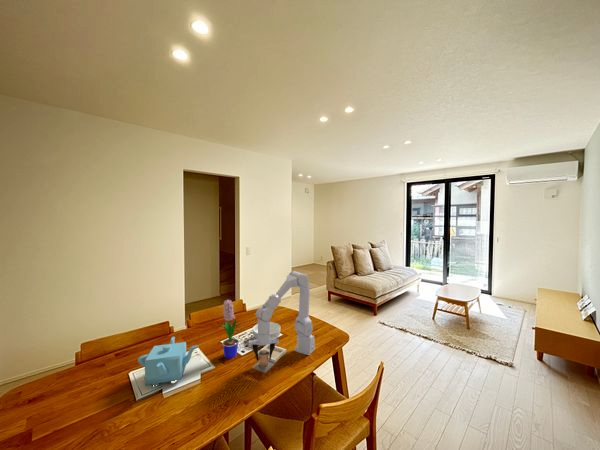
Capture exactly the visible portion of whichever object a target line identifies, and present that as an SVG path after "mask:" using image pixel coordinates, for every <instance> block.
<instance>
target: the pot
mask: <svg viewBox="0 0 600 450" xmlns="http://www.w3.org/2000/svg"><path fill="white" fill-rule="evenodd" d="M260 350H261V349H260ZM260 350H258V352H259V357H258V362H259V366H260V367H267V366H268V359H269V351H268V350H261V351H260Z"/></svg>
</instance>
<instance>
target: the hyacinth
mask: <svg viewBox="0 0 600 450" xmlns="http://www.w3.org/2000/svg"><path fill="white" fill-rule="evenodd" d="M222 305H223V309H222V313H223V319H224V320H225V323H224V324H221V326H222V327H223V329H224V330H225V332H226V334H227V336H228V338H227V339H224V340H223V342H222V347H223V355H224V358H226V359H233V358H235V357H236V356H237V355H238V346H239V339H238V338H235V337H233V335H234V333H235V331H236V330H237V328H239V327H240V326H241V325H242V323H240V324H238V325H237V326H236V324H237V319H236V317H235V314H234V310H235V309H234V305H233V301H232V300H230V299H226V300H225V301H223V303H222ZM233 319H235V320H234V321H233V323H232V322H231V321H232V320H233Z"/></svg>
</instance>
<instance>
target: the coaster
mask: <svg viewBox="0 0 600 450" xmlns="http://www.w3.org/2000/svg"><path fill="white" fill-rule="evenodd" d="M274 365H276V362H275V363H274V362H271V361H268V366H267V367H260V366H259V361H258V362H257V363H255V365H253V366H252V369H254V370H257V371H259V372H261V373H264V374H266V373H267V372H269V371H270V369H271V368H273V366H274Z"/></svg>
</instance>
